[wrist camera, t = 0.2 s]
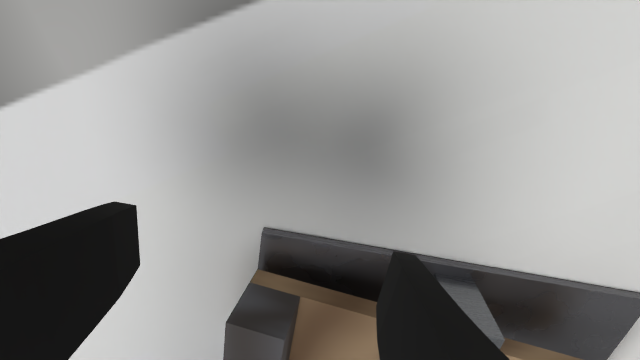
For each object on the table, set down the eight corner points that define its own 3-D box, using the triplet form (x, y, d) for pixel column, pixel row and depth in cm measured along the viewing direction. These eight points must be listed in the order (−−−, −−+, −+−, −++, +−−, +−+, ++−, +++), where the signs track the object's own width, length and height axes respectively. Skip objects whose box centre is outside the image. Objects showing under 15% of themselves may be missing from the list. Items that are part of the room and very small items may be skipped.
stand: (643, 293, 21) (726, 367, 16) (568, 394, 25) (618, 476, 21) (263, 227, 21) (241, 283, 16) (251, 341, 25) (230, 411, 20)
